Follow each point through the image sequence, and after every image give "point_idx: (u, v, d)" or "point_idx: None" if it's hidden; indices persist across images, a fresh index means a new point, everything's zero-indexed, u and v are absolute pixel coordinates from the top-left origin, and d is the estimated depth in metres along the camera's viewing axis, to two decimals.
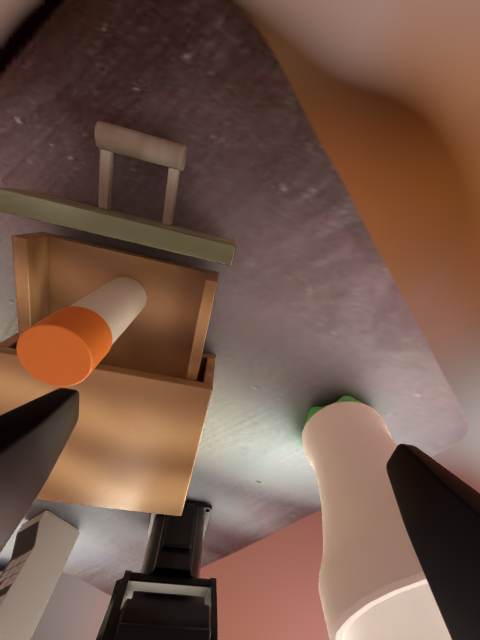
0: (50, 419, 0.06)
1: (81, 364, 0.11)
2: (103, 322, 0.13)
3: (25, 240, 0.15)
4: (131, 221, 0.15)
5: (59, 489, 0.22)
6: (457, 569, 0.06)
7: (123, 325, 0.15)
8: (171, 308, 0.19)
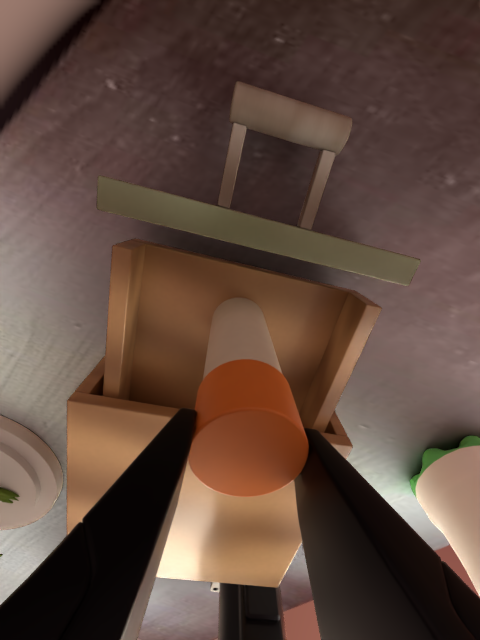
0: None
1: (289, 466, 0.07)
2: (286, 383, 0.08)
3: (130, 251, 0.11)
4: (285, 225, 0.11)
5: None
6: (330, 556, 0.05)
7: None
8: (293, 337, 0.15)
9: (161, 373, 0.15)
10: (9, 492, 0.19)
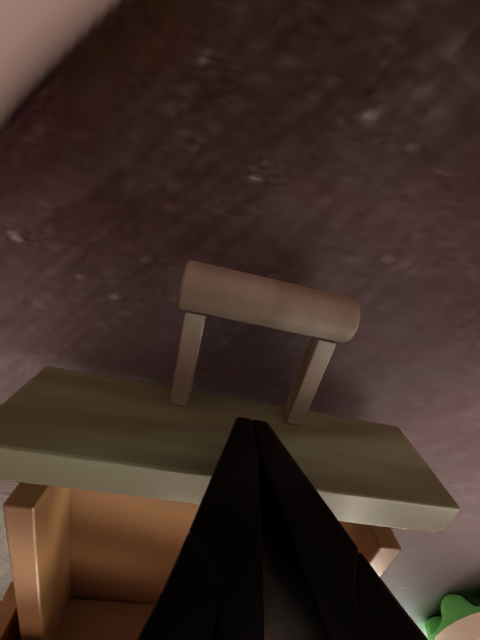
0: None
1: None
2: None
3: (30, 511, 0.07)
4: None
5: None
6: (262, 548, 0.05)
7: None
8: None
9: (109, 568, 0.12)
10: None
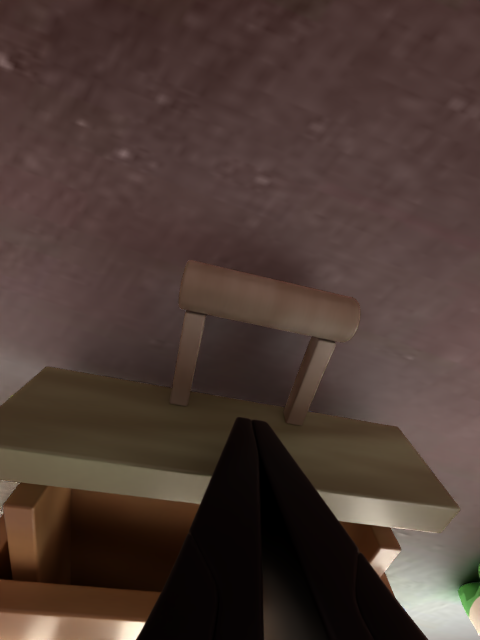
0: None
1: None
2: None
3: (30, 511, 0.07)
4: None
5: None
6: (262, 548, 0.05)
7: None
8: None
9: (109, 569, 0.12)
10: None
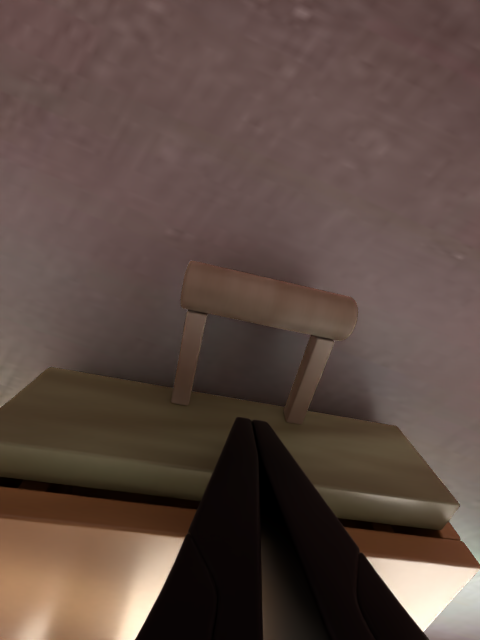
0: None
1: None
2: None
3: None
4: None
5: None
6: (263, 549, 0.05)
7: None
8: None
9: None
10: None
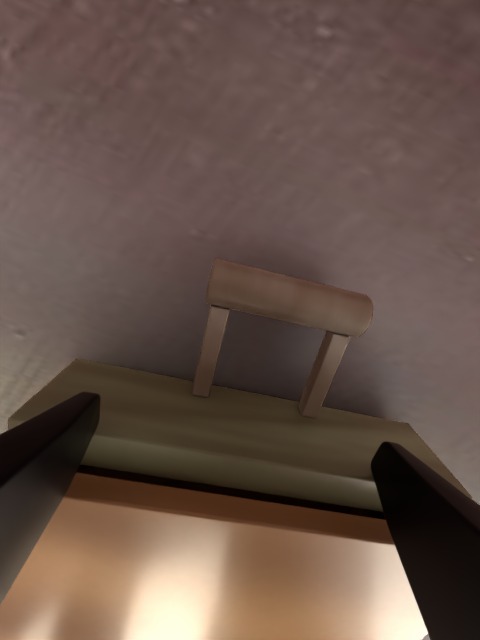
0: (76, 423, 0.06)
1: None
2: None
3: None
4: (280, 465, 0.07)
5: None
6: (436, 567, 0.06)
7: None
8: None
9: None
10: None
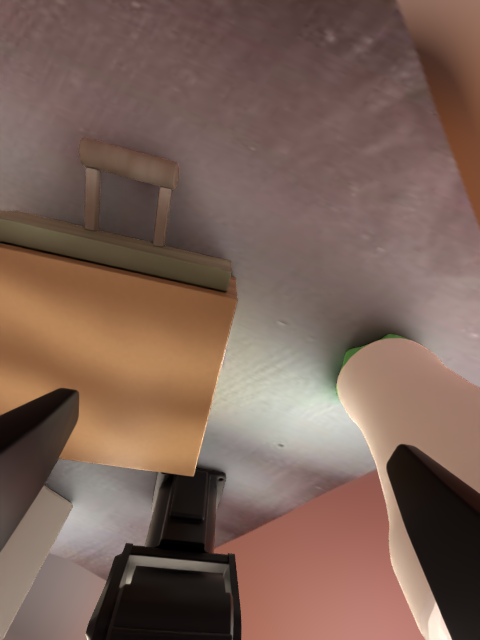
0: (50, 419, 0.06)
1: None
2: None
3: None
4: (119, 246, 0.14)
5: None
6: (457, 569, 0.06)
7: None
8: None
9: None
10: None
